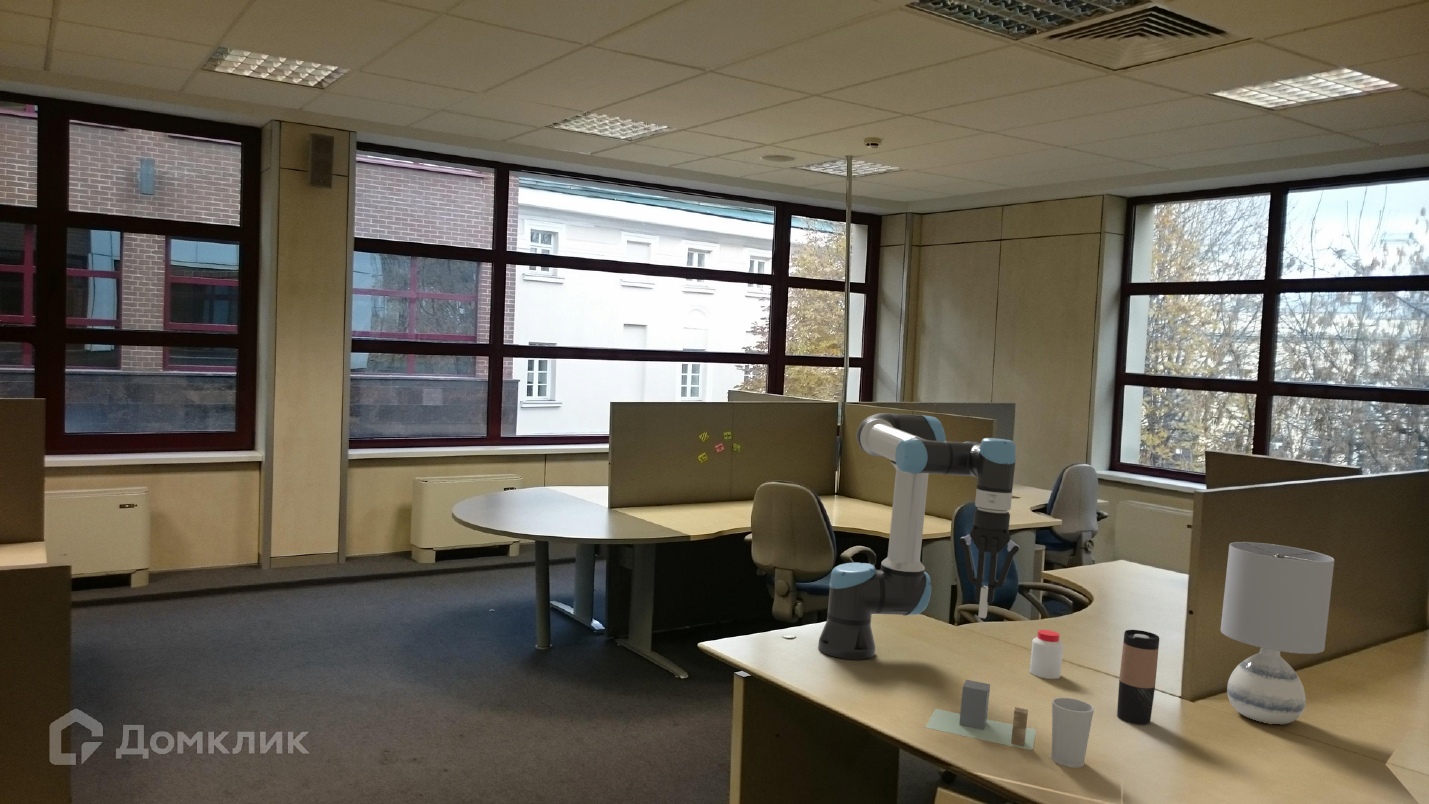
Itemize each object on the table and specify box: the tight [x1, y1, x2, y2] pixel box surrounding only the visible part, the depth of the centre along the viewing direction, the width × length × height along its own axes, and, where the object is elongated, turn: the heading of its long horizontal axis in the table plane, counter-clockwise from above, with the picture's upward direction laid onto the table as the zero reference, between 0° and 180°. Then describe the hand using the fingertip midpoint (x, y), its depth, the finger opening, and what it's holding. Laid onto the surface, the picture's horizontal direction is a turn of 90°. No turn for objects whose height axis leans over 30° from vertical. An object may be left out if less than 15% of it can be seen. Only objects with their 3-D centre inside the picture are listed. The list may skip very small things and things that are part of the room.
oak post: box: [1011, 706, 1029, 746], centre depth 205 cm, size 3×3×7 cm
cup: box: [1050, 697, 1095, 768], centre depth 198 cm, size 8×8×12 cm
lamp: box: [1220, 541, 1335, 725], centre depth 233 cm, size 22×22×40 cm
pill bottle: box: [1028, 629, 1064, 680], centre depth 256 cm, size 8×8×11 cm
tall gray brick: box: [959, 679, 991, 730], centre depth 215 cm, size 5×5×9 cm
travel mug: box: [1116, 629, 1160, 726], centre depth 226 cm, size 8×8×20 cm
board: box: [924, 708, 1037, 751], centre depth 212 cm, size 22×13×1 cm, turn 68°
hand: (982, 616), depth 214 cm, fingers closed
